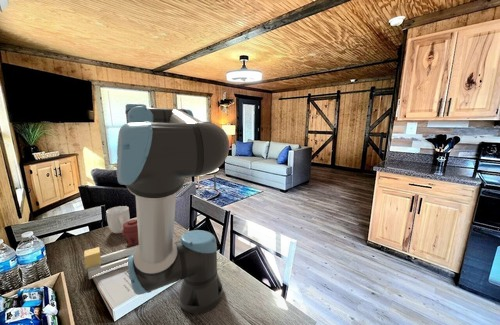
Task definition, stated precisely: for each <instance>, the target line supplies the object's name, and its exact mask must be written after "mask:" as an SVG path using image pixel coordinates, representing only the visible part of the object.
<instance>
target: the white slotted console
mask: <svg viewBox="0 0 500 325" xmlns="http://www.w3.org/2000/svg"><path fill="white" fill-rule="evenodd" d="M138 246H139V245H132V246H129V247H127V248H124V249H120V250H117V251H114V252H110V253H107V254H103V255H100V256H101V264H98V265H94V266H91V267H88V268H87V274H88V280H91V279H93V278H92V276H94V275H96V274H98V273H101V272H103V271H106V270H109V269H111V268H114V267H116V266H119V265H122V264H124V263H127V262H128V258H129V256H130V255H131V254H133V253H135V250H136V249H137V247H138ZM125 257H126V258H125ZM116 260H117V261H116Z"/></svg>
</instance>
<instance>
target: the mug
mask: <svg viewBox="0 0 500 325" xmlns="http://www.w3.org/2000/svg"><path fill="white" fill-rule="evenodd" d="M105 212H106V213H105V214H106V221H107V225H108V227H109V230H110V231H111V232H112V233H113V234H122V230H123V224H124V223H126V222H128V221H130V220H131V219H130V218H131V217H130V209H129V206H127V205H125V206H124V205H122V206H121V205H119V206H114V207H110V208H108V209H107V210H106V211H105Z"/></svg>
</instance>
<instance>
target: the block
mask: <svg viewBox="0 0 500 325" xmlns="http://www.w3.org/2000/svg"><path fill="white" fill-rule="evenodd" d="M101 256H102V255H101V250H100V246H97V247H94V248H91V249H90V248H89V249H86V250H84V256H83V257H84V264H85V265H84V266H85V268H86V269H88V267H91V266H94V265H98V264H101ZM101 265H102V264H101Z"/></svg>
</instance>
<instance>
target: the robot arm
mask: <svg viewBox="0 0 500 325" xmlns="http://www.w3.org/2000/svg"><path fill="white" fill-rule="evenodd" d="M125 116H126V118H125V119H126V123H125V124H123V125H121V126H120V129H119V131H118V138H117V146H116V147H117V148H116V149H117V150H116V156H117V157H116V158H117V159H116V177H117V182H118V184H119V185H122V186H123V185H124V186H126V188H127V189H128V191H129V192H130V194H132V195H134V196H135V208H136V210H135V211H136V220H137V225H138V240H139V246H138V247H137V249H136V250H135V253H133V254H131V255H129V256H128V257H129V258H128V257H127V258H128V266H127V269H128V274H129V279H130V284H131V288H132V290H133V292H134V294H135V295H138V296H140V295H145V294H146V293H148V294H149V293H152V292H153V291H156V290H158V289H162V288H164V287H166V286H169V285H172V284H174V283H177V282H179V281H182V282H181V285H180V287H179V288H180V289H179V291H178V292H179V293H178V302H179V306H180V308H181V309H182V310H183V311H184V312H187V313H189V314H196V315H197V314H203V313H206V312H209V311H211V310H213V309H214V308H215V307H216V306H218V304H219V303H221V300H222V298H223V294H224V293H223V292H224V291H223V290H224V289H223V283H222V281H221V278H220V277H219V274H218V251H217V250H218V246H217V239H216V237H215V235H214V234H213V233H211V232H209V231H207V230H201V229H194V230H189V231H185V233H182V235H181V236H180V240H179V241H174V231H175V230H174V226H175V217H176V215H175V214H176V203H177V202H176V200H177V193H179V192H180V191H181V190H182V188H183V187H184V184H185V178H188V177H196V176H204V175H207V174H210V173H212V172H214V171H216V170H217V169H218V168H220V167H221V166H222V165H223V163H224V162H225V161H226V159H227V158H228V155H229V153H230V152H229V151H230V140H229V136H228V134H227V132H226V131H225V130H224V129H223V128H222V127H221V126H220V125H218V124H215V123H213V122H211V121H202V120H200V119H198V118H196V117H195V116H194V114H193V112H192V110H190V109H185V108H163V107H162V108H161V107H147V105H146V104H144V103H143V104H142V103H127V104H125Z"/></svg>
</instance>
